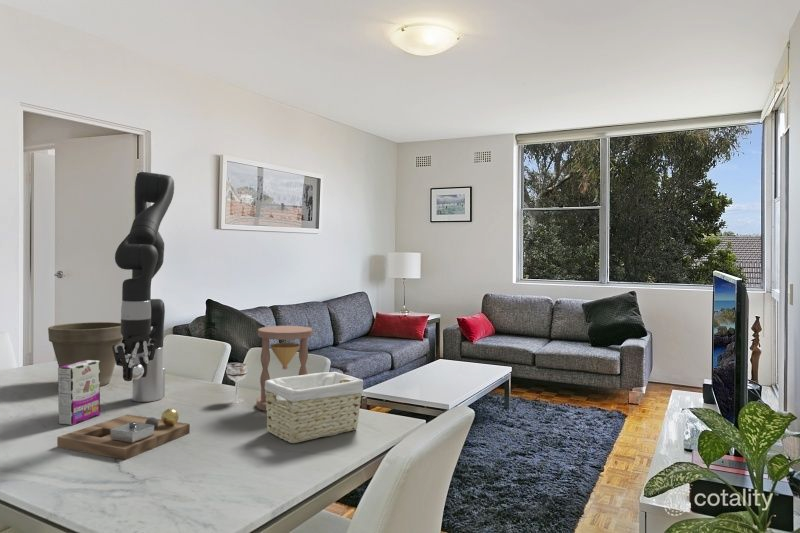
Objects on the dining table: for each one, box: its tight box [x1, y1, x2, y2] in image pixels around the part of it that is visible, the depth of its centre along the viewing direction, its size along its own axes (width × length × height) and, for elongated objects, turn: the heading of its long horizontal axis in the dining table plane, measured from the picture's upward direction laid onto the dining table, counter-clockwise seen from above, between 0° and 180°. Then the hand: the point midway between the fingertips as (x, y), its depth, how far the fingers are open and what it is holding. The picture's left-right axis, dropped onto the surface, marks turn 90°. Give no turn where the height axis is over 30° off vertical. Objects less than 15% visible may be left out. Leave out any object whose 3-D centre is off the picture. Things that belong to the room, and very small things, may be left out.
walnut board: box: [56, 414, 191, 461], centre depth 149 cm, size 22×22×2 cm
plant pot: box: [47, 321, 123, 387], centre depth 208 cm, size 25×25×22 cm
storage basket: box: [265, 371, 364, 444], centre depth 159 cm, size 24×16×15 cm
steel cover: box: [110, 422, 154, 443], centre depth 143 cm, size 7×7×3 cm
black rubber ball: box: [145, 416, 158, 429], centre depth 150 cm, size 3×3×3 cm
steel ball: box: [132, 363, 144, 380], centre depth 156 cm, size 4×4×4 cm
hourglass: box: [255, 325, 314, 412], centre depth 185 cm, size 18×18×25 cm
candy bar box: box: [57, 360, 101, 426], centre depth 165 cm, size 11×5×16 cm, turn 168°
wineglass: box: [226, 362, 248, 404], centre depth 189 cm, size 7×7×12 cm
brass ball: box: [161, 408, 180, 426], centre depth 154 cm, size 4×4×4 cm
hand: (135, 378), depth 157 cm, fingers closed on steel ball, 4 cm apart
